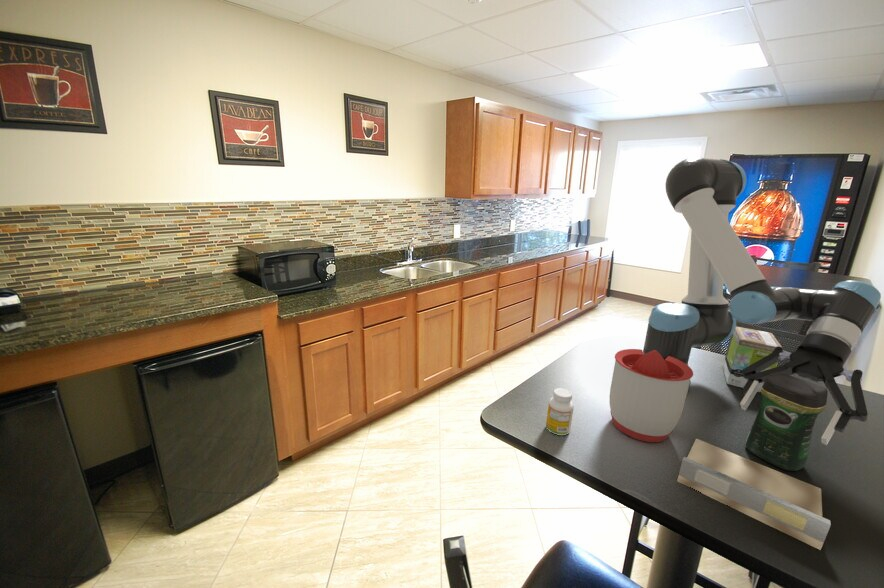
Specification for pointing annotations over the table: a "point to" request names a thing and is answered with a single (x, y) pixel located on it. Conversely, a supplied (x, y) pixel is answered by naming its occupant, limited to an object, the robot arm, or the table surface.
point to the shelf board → (757, 486)
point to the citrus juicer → (648, 394)
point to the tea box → (747, 353)
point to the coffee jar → (786, 420)
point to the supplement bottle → (560, 412)
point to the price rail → (756, 499)
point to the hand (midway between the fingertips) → (780, 423)
